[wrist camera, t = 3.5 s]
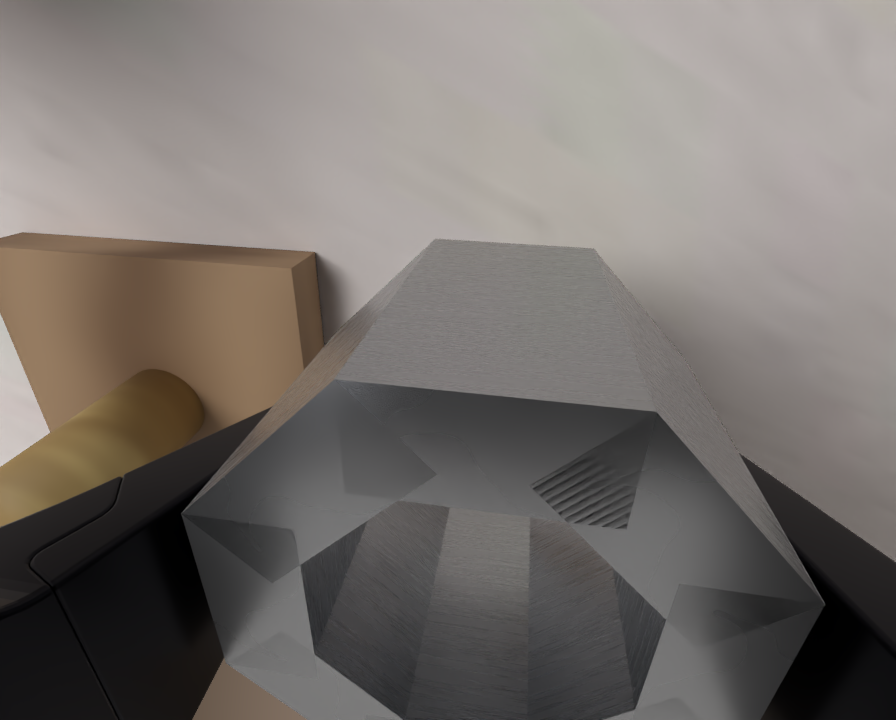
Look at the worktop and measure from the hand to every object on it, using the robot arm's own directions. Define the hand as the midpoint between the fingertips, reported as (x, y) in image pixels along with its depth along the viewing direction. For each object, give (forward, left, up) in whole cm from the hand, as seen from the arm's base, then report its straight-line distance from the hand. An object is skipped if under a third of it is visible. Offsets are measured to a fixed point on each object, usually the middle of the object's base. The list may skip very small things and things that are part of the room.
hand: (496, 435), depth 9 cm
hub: (0, 0, -1) cm, 1 cm away
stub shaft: (+10, +3, -5) cm, 12 cm away
